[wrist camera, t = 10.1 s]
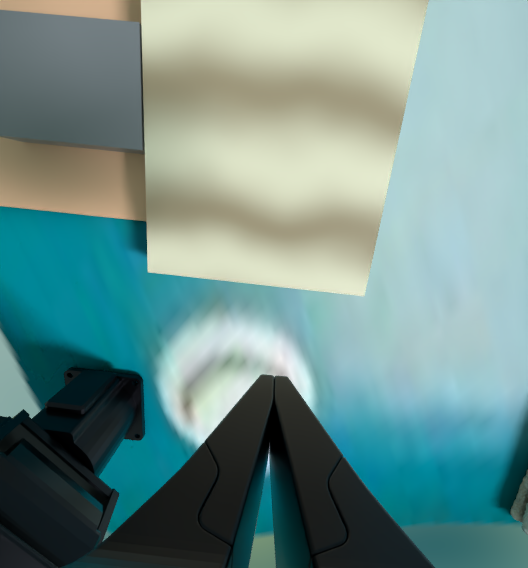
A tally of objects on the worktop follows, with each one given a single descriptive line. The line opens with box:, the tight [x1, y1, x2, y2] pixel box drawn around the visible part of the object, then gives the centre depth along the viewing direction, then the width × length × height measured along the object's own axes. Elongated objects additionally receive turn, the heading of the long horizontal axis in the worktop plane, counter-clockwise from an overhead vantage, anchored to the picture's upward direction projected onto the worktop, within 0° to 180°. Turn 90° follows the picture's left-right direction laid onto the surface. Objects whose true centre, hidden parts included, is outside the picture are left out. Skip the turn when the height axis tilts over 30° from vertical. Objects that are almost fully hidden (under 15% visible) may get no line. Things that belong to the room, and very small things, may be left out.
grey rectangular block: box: [0, 10, 145, 154], centre depth 16 cm, size 6×9×2 cm, turn 84°
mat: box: [0, 0, 147, 221], centre depth 17 cm, size 14×12×1 cm
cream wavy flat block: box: [141, 0, 429, 296], centre depth 16 cm, size 20×14×2 cm
